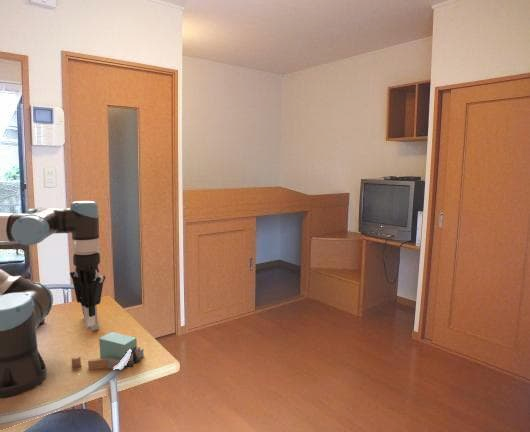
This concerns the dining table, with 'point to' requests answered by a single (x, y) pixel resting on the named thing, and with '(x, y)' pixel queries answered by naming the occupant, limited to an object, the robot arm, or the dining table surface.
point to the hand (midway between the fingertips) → (89, 325)
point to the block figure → (98, 362)
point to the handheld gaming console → (95, 326)
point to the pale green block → (116, 345)
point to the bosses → (136, 357)
